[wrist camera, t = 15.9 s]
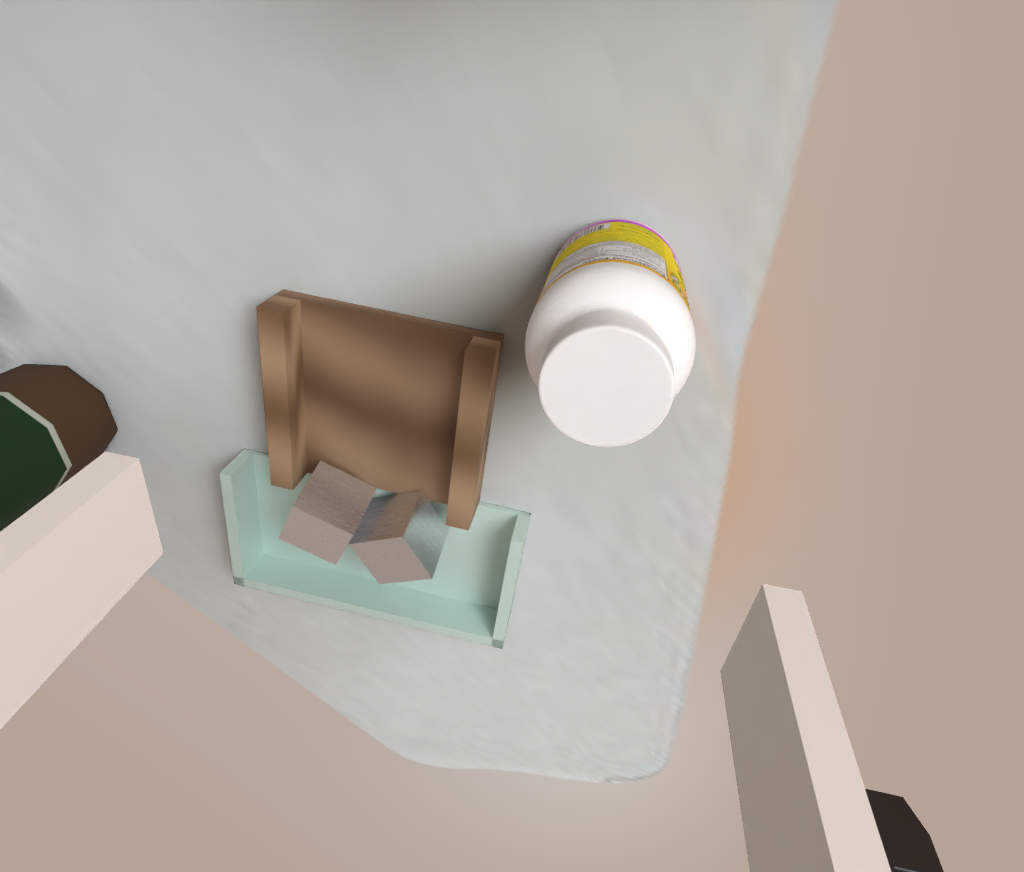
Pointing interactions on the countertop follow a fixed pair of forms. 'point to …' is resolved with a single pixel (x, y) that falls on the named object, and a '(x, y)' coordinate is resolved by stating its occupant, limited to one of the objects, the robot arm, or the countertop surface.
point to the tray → (351, 587)
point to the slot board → (377, 398)
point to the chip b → (400, 538)
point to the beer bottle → (46, 433)
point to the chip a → (327, 512)
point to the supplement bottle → (611, 334)
